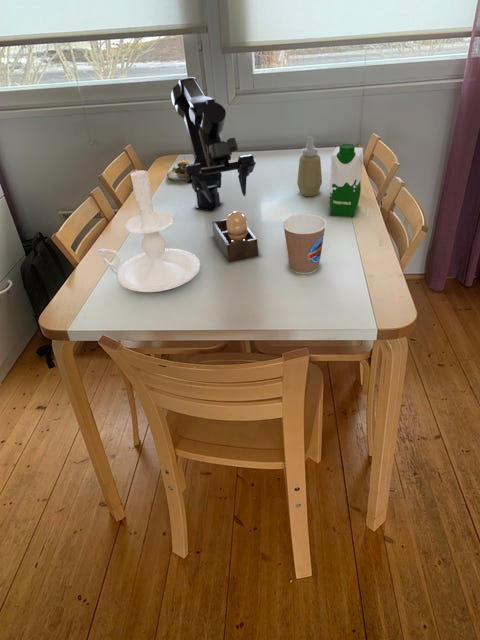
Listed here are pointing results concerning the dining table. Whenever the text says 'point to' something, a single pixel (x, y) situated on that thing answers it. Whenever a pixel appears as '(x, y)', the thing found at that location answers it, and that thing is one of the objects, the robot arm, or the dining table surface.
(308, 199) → the dining table surface
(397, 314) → the dining table surface
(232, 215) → the egg
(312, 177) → the squeeze bottle
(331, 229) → the dining table surface
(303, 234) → the coffee cup
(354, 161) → the milk carton
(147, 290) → the candlestick
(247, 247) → the dark brown wooden tray
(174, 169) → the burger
